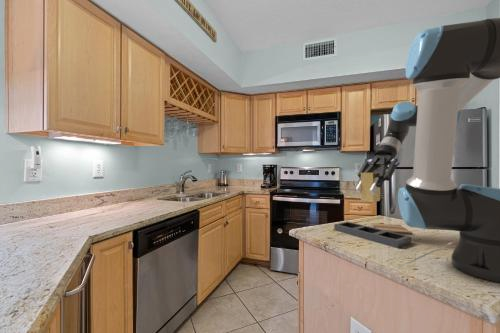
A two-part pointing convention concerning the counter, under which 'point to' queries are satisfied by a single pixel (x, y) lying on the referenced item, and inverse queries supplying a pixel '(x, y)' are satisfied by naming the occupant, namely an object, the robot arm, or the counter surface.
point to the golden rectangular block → (366, 184)
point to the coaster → (392, 228)
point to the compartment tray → (374, 234)
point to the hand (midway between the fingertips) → (364, 191)
